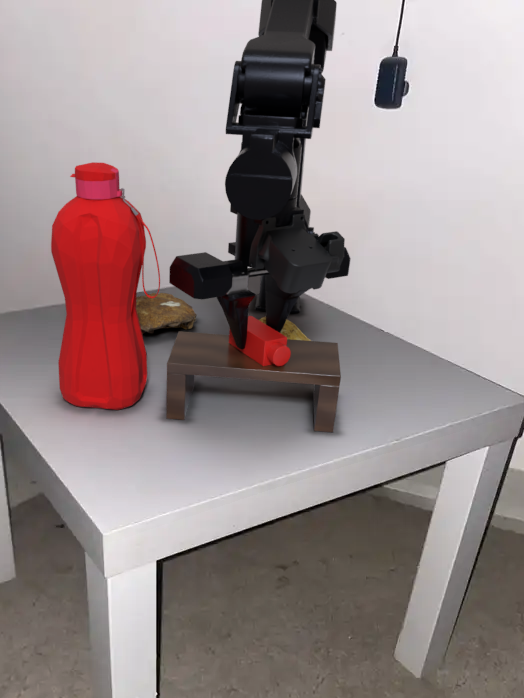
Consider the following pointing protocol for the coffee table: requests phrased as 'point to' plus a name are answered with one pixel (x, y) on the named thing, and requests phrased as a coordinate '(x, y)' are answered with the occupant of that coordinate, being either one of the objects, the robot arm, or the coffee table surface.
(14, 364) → the coffee table surface
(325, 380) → the shelf
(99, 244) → the water bottle
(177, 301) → the decorative rock
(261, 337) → the red square bottle
